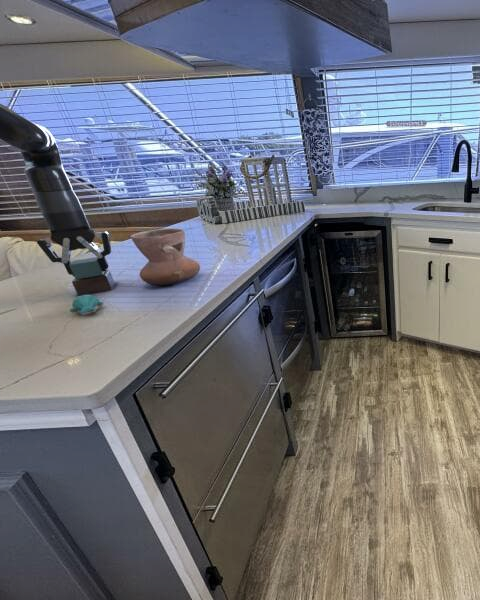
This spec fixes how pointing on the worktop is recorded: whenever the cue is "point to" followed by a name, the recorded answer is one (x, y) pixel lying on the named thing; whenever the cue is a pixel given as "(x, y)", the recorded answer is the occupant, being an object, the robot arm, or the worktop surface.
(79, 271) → the green block
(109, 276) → the walnut block
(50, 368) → the worktop surface
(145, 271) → the ceramic jug
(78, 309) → the toy turtle
